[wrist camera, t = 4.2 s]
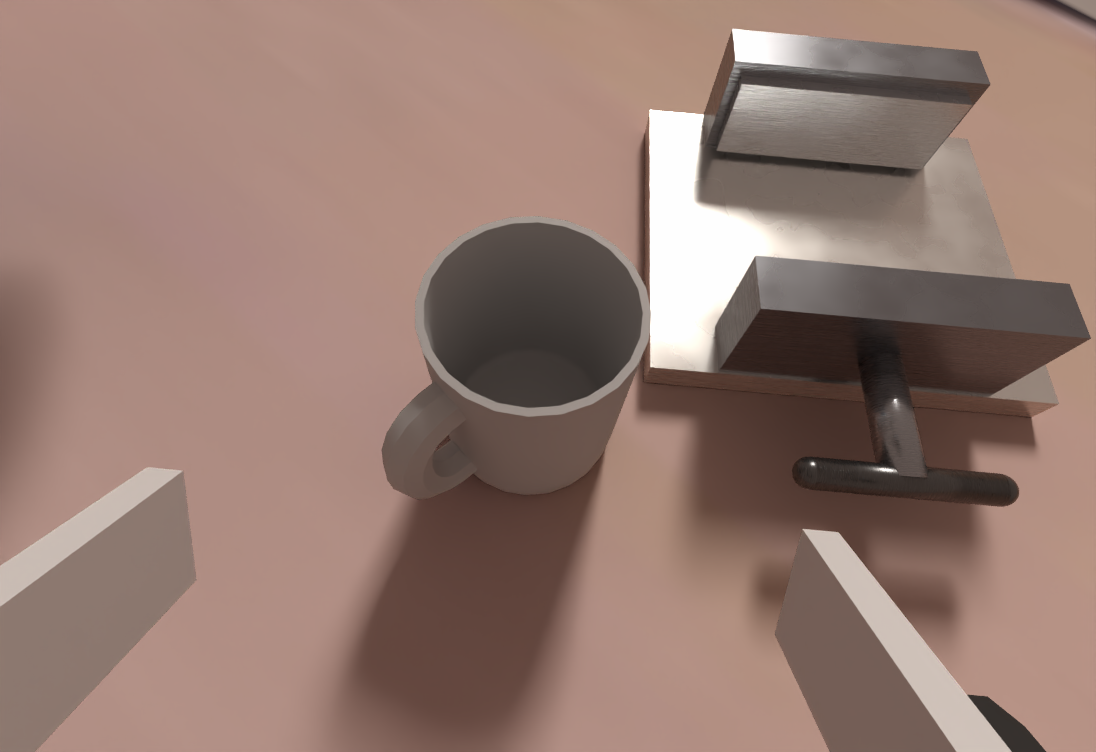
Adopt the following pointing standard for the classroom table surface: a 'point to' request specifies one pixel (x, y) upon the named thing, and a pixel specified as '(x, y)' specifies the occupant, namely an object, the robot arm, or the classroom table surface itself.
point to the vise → (845, 253)
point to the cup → (519, 359)
